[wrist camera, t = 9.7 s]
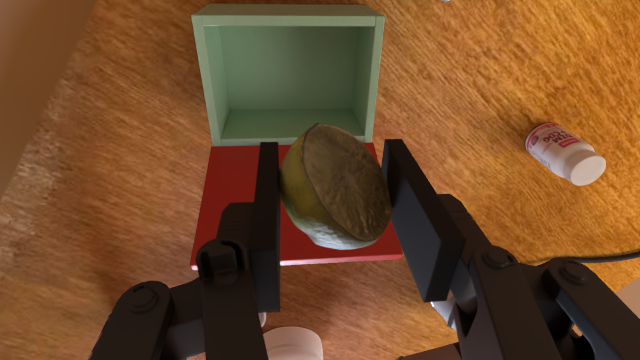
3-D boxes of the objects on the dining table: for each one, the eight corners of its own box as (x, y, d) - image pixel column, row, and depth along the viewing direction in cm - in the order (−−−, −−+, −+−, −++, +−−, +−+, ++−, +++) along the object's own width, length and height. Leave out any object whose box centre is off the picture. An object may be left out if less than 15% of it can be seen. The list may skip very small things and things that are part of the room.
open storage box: (209, 3, 34) (190, 15, 27) (365, 4, 36) (385, 16, 29) (224, 114, 40) (212, 147, 34) (357, 112, 42) (371, 143, 35)
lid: (189, 265, 25) (192, 270, 25) (403, 254, 26) (401, 259, 27) (211, 146, 33) (212, 152, 33) (373, 141, 34) (372, 147, 35)
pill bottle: (548, 114, 44) (599, 144, 37) (566, 135, 46) (617, 167, 39) (517, 141, 46) (559, 175, 39) (535, 160, 48) (579, 195, 41)
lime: (283, 107, 14) (283, 172, 10) (394, 119, 15) (437, 184, 11) (274, 194, 17) (272, 275, 13) (370, 201, 18) (398, 279, 13)
